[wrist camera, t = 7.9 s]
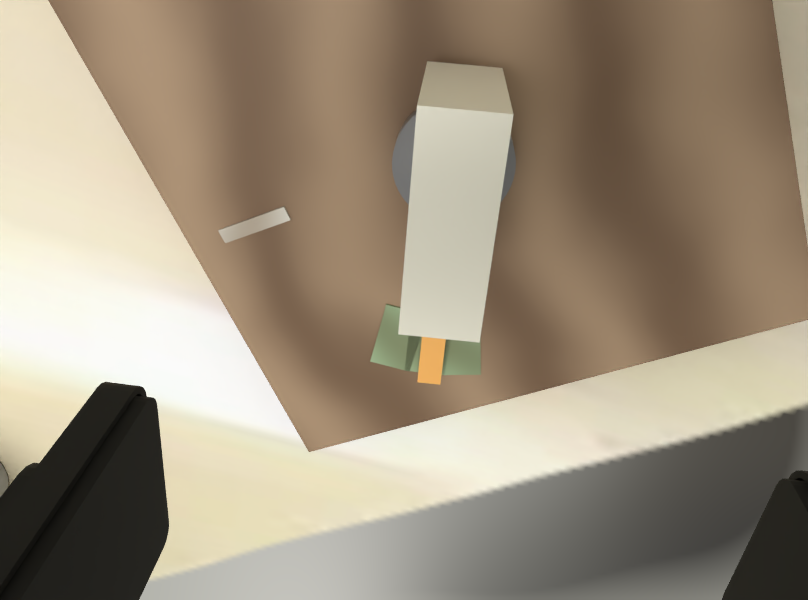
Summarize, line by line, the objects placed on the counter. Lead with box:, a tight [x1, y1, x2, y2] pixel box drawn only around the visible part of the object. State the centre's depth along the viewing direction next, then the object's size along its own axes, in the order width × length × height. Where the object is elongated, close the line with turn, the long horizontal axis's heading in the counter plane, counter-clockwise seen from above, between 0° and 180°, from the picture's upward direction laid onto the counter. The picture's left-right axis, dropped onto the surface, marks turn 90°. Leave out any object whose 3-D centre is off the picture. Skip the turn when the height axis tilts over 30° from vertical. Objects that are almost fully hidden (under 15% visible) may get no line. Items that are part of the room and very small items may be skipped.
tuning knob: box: [392, 61, 516, 385], centre depth 25 cm, size 14×4×7 cm, turn 176°
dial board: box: [49, 0, 808, 452], centre depth 27 cm, size 23×23×2 cm
